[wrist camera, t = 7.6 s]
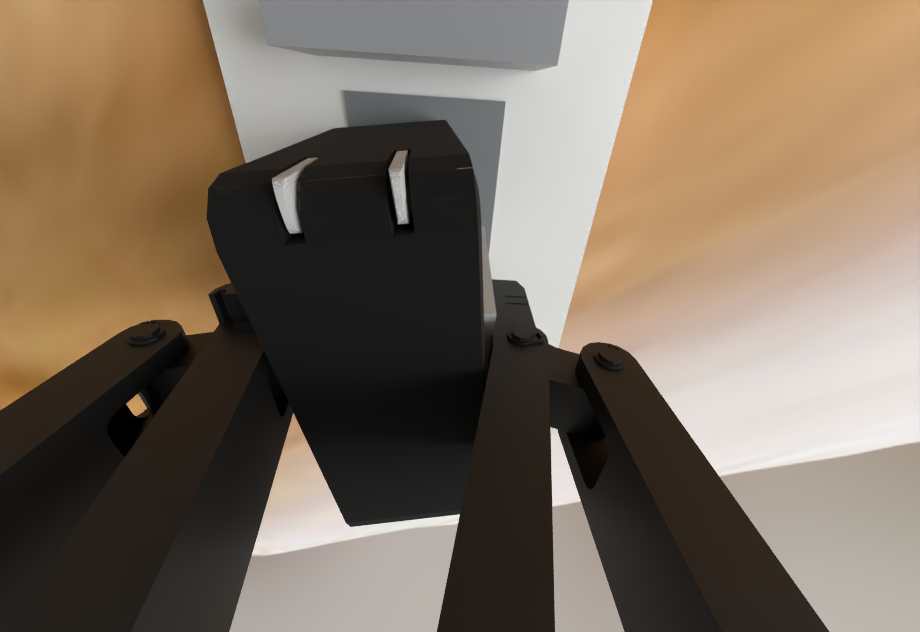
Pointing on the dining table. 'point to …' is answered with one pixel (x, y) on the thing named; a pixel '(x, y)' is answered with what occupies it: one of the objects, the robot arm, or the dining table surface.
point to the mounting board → (454, 103)
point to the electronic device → (367, 305)
